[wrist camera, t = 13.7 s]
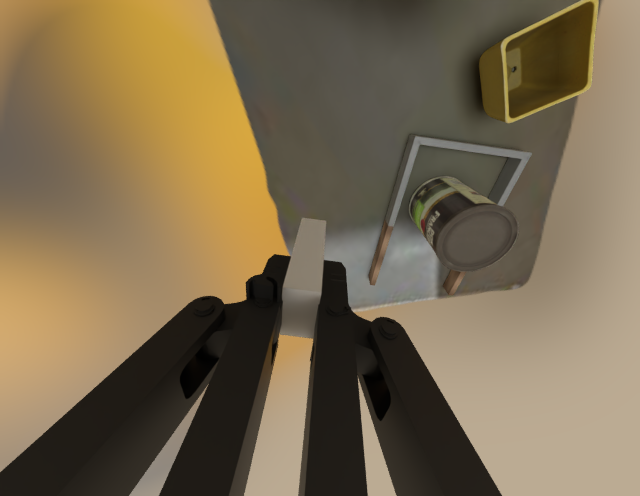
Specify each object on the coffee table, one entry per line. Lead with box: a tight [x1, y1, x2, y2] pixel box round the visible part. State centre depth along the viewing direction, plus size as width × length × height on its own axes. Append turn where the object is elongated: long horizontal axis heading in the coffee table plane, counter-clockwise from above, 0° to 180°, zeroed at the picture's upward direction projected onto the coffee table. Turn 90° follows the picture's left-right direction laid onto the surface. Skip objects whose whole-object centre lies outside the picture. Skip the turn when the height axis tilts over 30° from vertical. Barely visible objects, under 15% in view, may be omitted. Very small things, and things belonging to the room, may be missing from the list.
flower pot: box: [479, 0, 598, 123], centre depth 30 cm, size 9×9×9 cm
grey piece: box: [385, 134, 532, 227], centre depth 41 cm, size 15×18×3 cm
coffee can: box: [409, 176, 519, 272], centre depth 38 cm, size 10×10×14 cm
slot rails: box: [369, 220, 466, 295], centre depth 48 cm, size 14×18×3 cm
